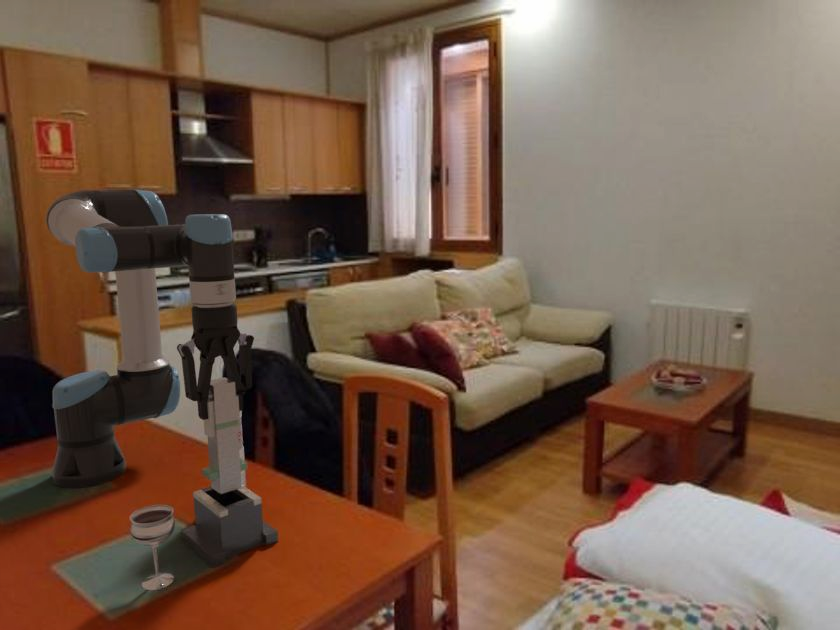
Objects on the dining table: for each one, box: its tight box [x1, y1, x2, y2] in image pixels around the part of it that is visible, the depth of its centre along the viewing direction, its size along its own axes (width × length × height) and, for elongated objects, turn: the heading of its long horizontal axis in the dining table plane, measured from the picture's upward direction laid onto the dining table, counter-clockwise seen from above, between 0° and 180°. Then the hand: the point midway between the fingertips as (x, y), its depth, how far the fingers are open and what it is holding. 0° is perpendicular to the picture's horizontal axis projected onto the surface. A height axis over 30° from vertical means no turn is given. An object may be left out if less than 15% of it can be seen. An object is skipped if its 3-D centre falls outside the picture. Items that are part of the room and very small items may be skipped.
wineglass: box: [129, 504, 176, 591], centre depth 107 cm, size 7×7×12 cm
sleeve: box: [180, 485, 279, 568], centre depth 120 cm, size 13×13×9 cm
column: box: [201, 376, 249, 494], centre depth 117 cm, size 7×4×20 cm, turn 132°
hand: (222, 431), depth 117 cm, fingers closed on column, 4 cm apart
